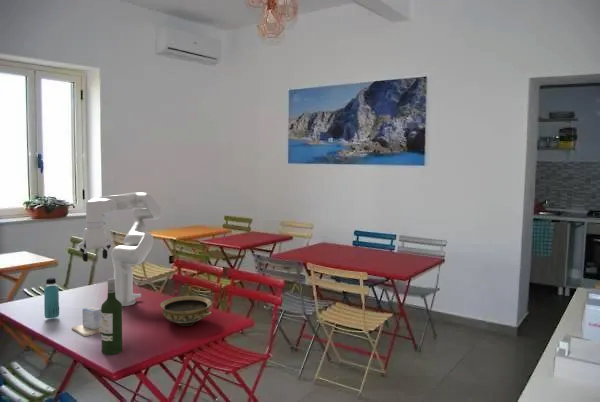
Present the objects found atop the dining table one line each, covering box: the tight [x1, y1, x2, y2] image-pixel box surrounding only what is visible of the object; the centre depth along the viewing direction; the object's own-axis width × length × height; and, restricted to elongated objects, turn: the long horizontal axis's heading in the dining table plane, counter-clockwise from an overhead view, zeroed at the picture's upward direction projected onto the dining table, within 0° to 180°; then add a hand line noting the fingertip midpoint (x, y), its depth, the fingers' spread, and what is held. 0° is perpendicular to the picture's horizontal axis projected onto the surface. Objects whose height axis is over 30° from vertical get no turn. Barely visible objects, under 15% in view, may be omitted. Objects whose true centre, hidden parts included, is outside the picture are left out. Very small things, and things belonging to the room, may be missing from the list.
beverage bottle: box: [43, 277, 60, 319], centre depth 233 cm, size 6×7×20 cm
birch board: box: [71, 324, 102, 338], centre depth 221 cm, size 13×13×1 cm
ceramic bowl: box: [159, 295, 212, 327], centre depth 232 cm, size 30×24×10 cm
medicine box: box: [82, 306, 101, 330], centre depth 221 cm, size 8×4×9 cm, turn 62°
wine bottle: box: [100, 277, 123, 356], centre depth 195 cm, size 8×8×30 cm
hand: (95, 259), depth 237 cm, fingers open, 9 cm apart
